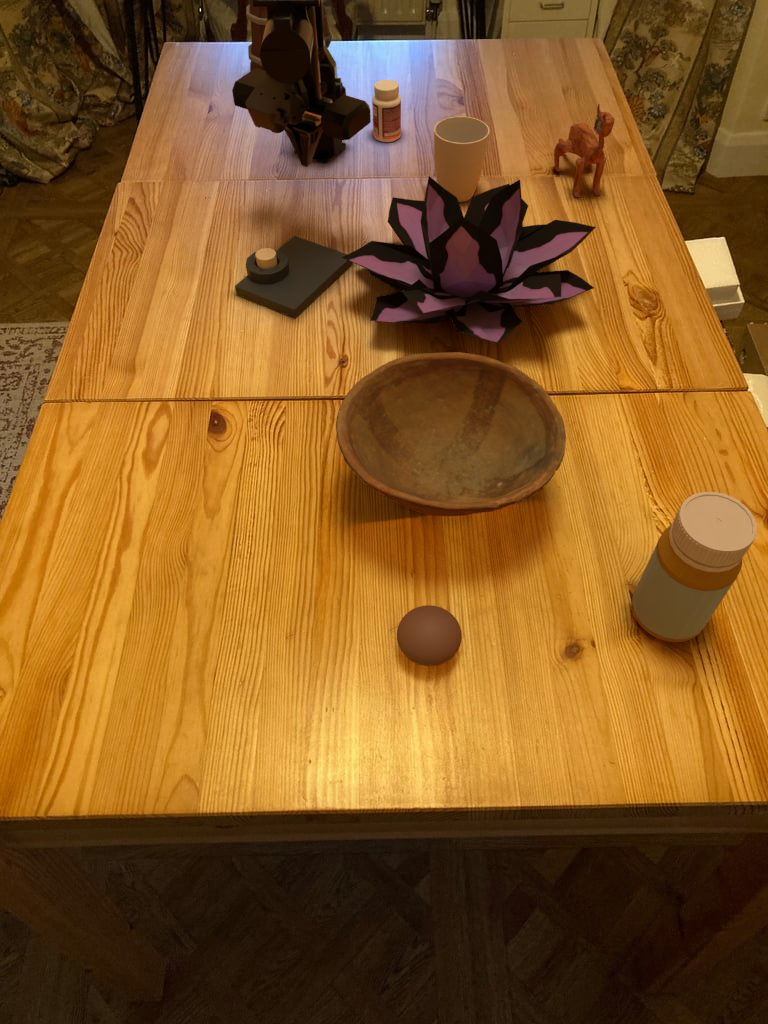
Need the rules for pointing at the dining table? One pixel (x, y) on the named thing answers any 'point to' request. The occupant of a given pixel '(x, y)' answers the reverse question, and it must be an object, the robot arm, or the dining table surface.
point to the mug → (258, 27)
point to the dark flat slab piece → (293, 276)
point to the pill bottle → (386, 111)
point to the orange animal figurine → (586, 148)
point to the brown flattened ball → (429, 635)
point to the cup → (460, 154)
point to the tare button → (266, 258)
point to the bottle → (693, 566)
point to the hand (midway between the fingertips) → (306, 165)
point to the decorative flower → (470, 261)
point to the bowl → (451, 433)
